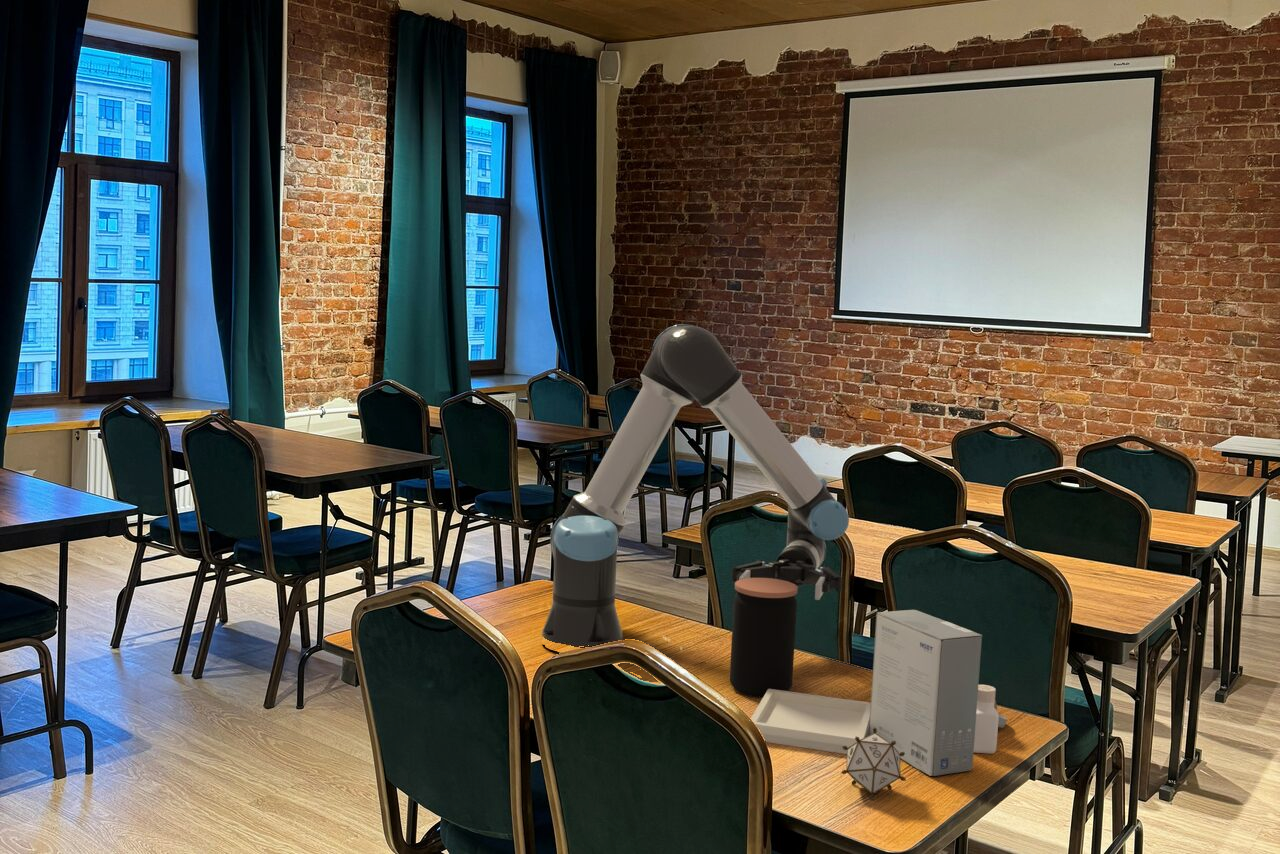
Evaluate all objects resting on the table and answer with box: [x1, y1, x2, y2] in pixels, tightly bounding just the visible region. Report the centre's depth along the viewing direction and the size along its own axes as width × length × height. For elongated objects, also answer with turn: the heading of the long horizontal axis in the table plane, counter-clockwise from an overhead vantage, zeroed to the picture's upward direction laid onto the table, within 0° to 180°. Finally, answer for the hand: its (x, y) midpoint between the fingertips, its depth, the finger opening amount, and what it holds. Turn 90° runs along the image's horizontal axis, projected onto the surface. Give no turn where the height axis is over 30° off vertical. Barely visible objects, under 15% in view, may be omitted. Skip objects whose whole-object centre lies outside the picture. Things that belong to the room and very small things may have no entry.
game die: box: [840, 727, 907, 801], centre depth 157 cm, size 9×8×10 cm
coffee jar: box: [729, 578, 799, 699], centre depth 197 cm, size 11×11×18 cm
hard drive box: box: [868, 609, 983, 777], centre depth 170 cm, size 16×8×20 cm, turn 25°
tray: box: [750, 689, 871, 755], centre depth 180 cm, size 17×17×2 cm
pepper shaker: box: [973, 684, 999, 755], centre depth 174 cm, size 4×4×10 cm
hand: (778, 588), depth 205 cm, fingers open, 13 cm apart
